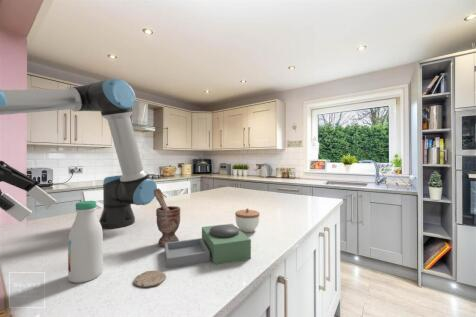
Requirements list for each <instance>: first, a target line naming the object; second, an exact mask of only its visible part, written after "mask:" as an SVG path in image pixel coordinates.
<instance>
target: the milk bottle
mask: <svg viewBox="0 0 476 317" xmlns="http://www.w3.org/2000/svg"><path fill="white" fill-rule="evenodd" d="M96 209H97V201H96V200H83V201H78V202H76V203H75V212H76V216H75V218H74V221H73V223H72V225H71V228H70V230H69V233H68V241H67V244H68V246H67V247H68V248H67V251H68V252H67V257H68V259H67V261H68V262H67V264H68V265H67V266H68V267H67V275H68V276H67V277H68V280H69V282H70V283H73V284H78V283H79V284H80V283H85V282H90V281H92V280H94V279H96V278H98V277H100V275H102V273H103V267H104V263H103V262H104V246H103V245H104V243H103V242H104V237H103V235H104V234H103V228H102V227H101V224H100V222H99V220H100V219H98V216H97V213H96Z"/></svg>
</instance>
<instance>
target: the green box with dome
mask: <svg viewBox="0 0 476 317" xmlns="http://www.w3.org/2000/svg"><path fill="white" fill-rule="evenodd" d="M201 238H202V240H203V242H204V243H205V245H206V247H207V248H208V250H209V252H210V261H211V262H212V263H213V265H214V266H215V265H219V264H227V263H231V262H237V261H242V260H250V259H252V240H251V238H250V237H249V236H247V235H246V233H245V232H243V231H241V230H240V229H239V228H238V226H237V225H236V226H235V225H234V224H233V223H227V224H217V225H209V226H207V225H205V226H201Z"/></svg>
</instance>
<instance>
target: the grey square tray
mask: <svg viewBox="0 0 476 317" xmlns="http://www.w3.org/2000/svg"><path fill="white" fill-rule="evenodd" d="M164 254H165V261H166V268H167V269H170V268H176V267H182V266H183V267H184V266H188V265H193V264H194V265H195V264H200V263H206V262H210V261H211V258H210V252H209V250H208V248H207V247H206V245H205V243H204V242H203V240H202V237H201V238H193V239H184V240H183V239H182V240H179V241H175V242H168V243H165V247H164Z"/></svg>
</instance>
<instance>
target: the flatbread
mask: <svg viewBox="0 0 476 317" xmlns="http://www.w3.org/2000/svg"><path fill="white" fill-rule="evenodd" d="M166 278H167V275H166V273H164V272H163V271H160V270H147V271H144V272H142V273H140V274H138V275H136V276H135V278H134V280H133V284H134V285H135V286H138V287H141V288H150V287H155V286H156V287H157V286H159V285H160V284H162V283H163V282H164V281H165V280H166Z"/></svg>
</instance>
